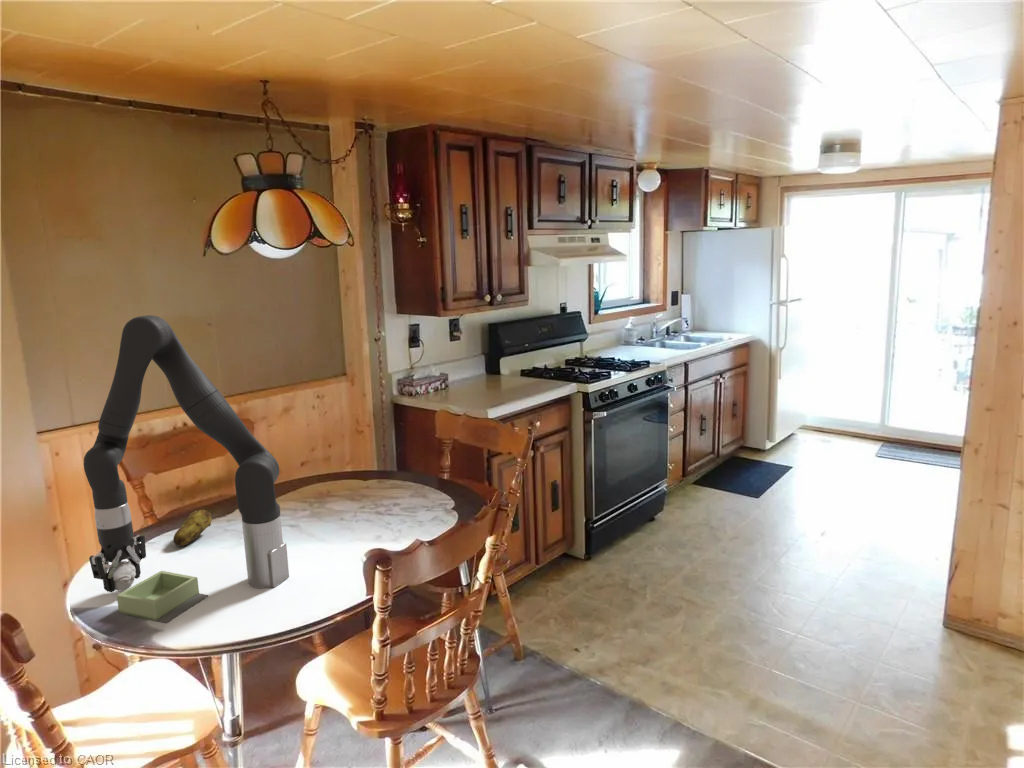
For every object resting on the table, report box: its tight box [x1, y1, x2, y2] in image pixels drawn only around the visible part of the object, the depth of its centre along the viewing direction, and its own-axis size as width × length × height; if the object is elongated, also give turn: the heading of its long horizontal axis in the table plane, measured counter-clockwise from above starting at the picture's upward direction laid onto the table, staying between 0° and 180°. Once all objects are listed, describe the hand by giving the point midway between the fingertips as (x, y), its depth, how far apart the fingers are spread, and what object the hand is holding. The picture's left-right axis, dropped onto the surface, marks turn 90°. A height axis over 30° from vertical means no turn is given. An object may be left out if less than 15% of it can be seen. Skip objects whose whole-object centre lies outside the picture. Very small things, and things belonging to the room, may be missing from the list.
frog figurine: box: [112, 560, 136, 592], centre depth 169 cm, size 6×7×7 cm
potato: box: [173, 509, 213, 547], centre depth 200 cm, size 8×13×8 cm, turn 145°
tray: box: [116, 570, 209, 624], centre depth 164 cm, size 14×13×5 cm
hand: (123, 584), depth 169 cm, fingers closed on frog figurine, 6 cm apart
